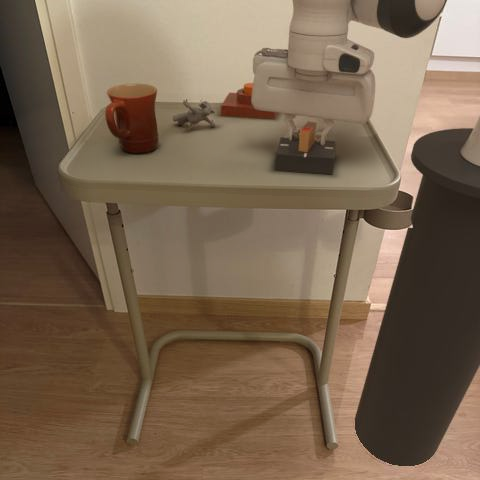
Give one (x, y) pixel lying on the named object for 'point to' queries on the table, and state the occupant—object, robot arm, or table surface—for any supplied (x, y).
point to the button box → (243, 107)
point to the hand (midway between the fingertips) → (307, 141)
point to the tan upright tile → (307, 136)
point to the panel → (305, 157)
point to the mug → (133, 117)
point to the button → (248, 88)
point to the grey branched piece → (195, 114)
